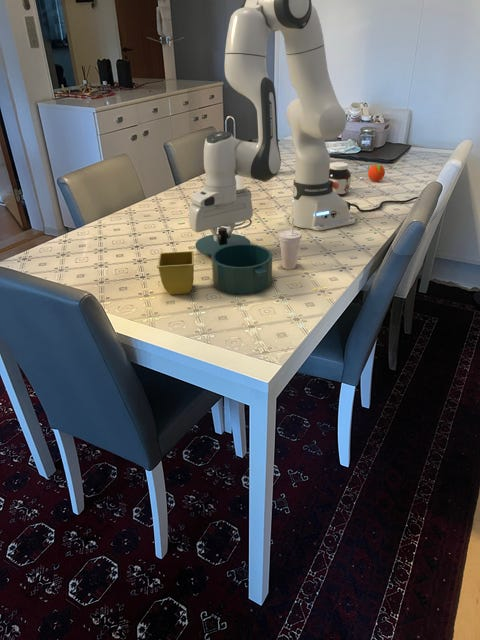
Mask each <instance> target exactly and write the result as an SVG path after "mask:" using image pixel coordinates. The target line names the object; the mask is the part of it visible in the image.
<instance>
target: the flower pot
mask: <svg viewBox="0 0 480 640" xmlns="http://www.w3.org/2000/svg"><path fill="white" fill-rule="evenodd" d="M194 256H195V252H194V251H193V250H188V251H187V250H186V251H172V252H160V253H159V254H158V263H157V269H158V272H159V273H158V274H159V277H160V280H161V284H162V286H163V288H164V289H165V290H164V291H166V292H167V294H169V295H185V294H190V292H191V291H192V289H193V285H194V279H195V277H194V275H195V273H194V271H195V268H194V267H195V262H194V261H195V260H194V259H195V257H194Z"/></svg>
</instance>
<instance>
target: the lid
mask: <svg viewBox="0 0 480 640" xmlns="http://www.w3.org/2000/svg"><path fill="white" fill-rule="evenodd" d="M227 229H228V228H226V227H218V228H217V234H219V235H221V240H220V241H217V242H216V241H214V237H213V234H209V235H205V236H203V237H201V238H199V239H198V240H197V241H196V242H195V244H194V245H195V249H196V250H197V252H198V253H201V254H203V255H206V256H211V257H212V254H213V252H215V251H216V250H217V249H219V246H220V245H224V244H227V245H234V244H252V243H251V240H250V239H249V238H248V237H246V236H243V235H240V234H235V233H232V238H228V239H227Z"/></svg>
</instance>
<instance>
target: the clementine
mask: <svg viewBox="0 0 480 640" xmlns="http://www.w3.org/2000/svg"><path fill="white" fill-rule="evenodd" d="M385 175H386V171H385V168H384V167H383V165H381V164H373V165H371V166H370V168H369V169H368V171H367V176H368V179H369V180H370V181H372V182H379V181H381V180H382V179H383V178H384V177H385Z"/></svg>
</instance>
